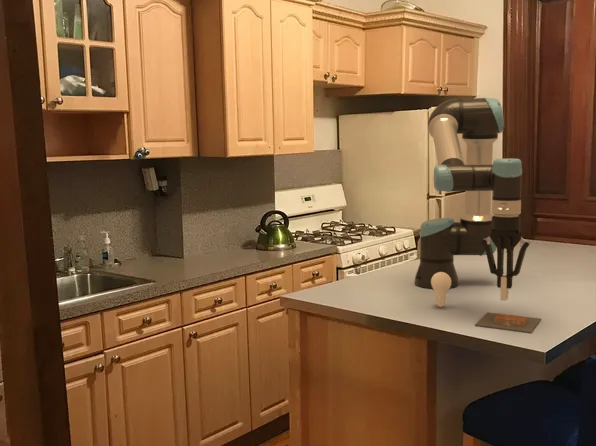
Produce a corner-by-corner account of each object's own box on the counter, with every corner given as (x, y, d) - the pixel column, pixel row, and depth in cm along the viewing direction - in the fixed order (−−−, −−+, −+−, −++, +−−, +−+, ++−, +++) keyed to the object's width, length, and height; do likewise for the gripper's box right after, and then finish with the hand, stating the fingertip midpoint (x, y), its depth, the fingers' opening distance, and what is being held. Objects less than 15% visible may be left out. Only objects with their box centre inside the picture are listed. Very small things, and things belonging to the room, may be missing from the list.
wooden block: (494, 318, 177) (524, 321, 172) (498, 313, 181) (527, 317, 177) (494, 323, 177) (524, 327, 173) (498, 319, 181) (527, 322, 177)
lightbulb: (448, 304, 200) (448, 269, 198) (453, 309, 194) (453, 273, 192) (428, 304, 199) (428, 270, 198) (433, 310, 193) (433, 274, 192)
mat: (474, 325, 176) (474, 324, 176) (487, 313, 188) (487, 312, 188) (531, 333, 169) (531, 331, 169) (541, 319, 181) (541, 318, 181)
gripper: (478, 215, 174) (477, 299, 177) (528, 217, 168) (526, 305, 171) (485, 212, 181) (484, 293, 184) (533, 214, 174) (531, 298, 177)
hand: (504, 299), depth 177 cm, fingers closed
